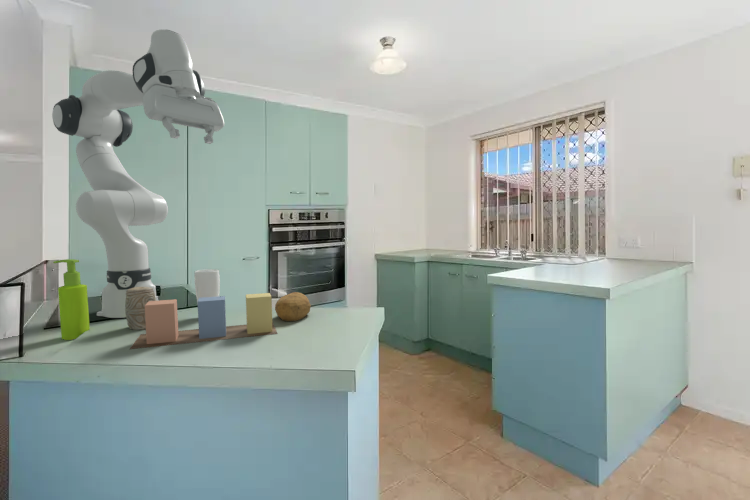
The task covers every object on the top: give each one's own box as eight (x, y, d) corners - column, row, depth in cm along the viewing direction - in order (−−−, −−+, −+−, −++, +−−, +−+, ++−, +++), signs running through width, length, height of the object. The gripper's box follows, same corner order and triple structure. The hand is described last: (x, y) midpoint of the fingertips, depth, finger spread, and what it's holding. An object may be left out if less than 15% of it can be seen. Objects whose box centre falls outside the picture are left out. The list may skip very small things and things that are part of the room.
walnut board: (141, 340, 99) (140, 334, 99) (273, 327, 110) (272, 322, 110) (129, 355, 88) (129, 349, 88) (277, 339, 99) (277, 333, 98)
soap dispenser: (70, 333, 106) (64, 258, 104) (95, 333, 105) (90, 258, 104) (51, 340, 100) (45, 260, 98) (78, 340, 100) (72, 260, 98)
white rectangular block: (212, 324, 113) (210, 272, 112) (191, 323, 115) (189, 271, 113) (225, 318, 120) (224, 269, 119) (205, 317, 121) (203, 268, 120)
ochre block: (246, 328, 103) (245, 294, 102) (270, 326, 105) (269, 292, 104) (247, 334, 98) (246, 298, 98) (272, 331, 100) (271, 296, 100)
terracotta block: (150, 338, 96) (148, 301, 95) (178, 335, 98) (176, 299, 97) (146, 344, 91) (144, 305, 90) (175, 341, 93) (174, 303, 92)
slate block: (200, 333, 99) (199, 297, 99) (226, 330, 101) (224, 296, 101) (199, 338, 95) (197, 301, 94) (226, 336, 97) (224, 299, 96)
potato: (267, 328, 109) (267, 299, 108) (284, 315, 123) (283, 290, 122) (302, 329, 108) (302, 299, 108) (315, 316, 122) (314, 290, 122)
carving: (127, 331, 107) (124, 287, 106) (158, 327, 111) (156, 284, 110) (125, 337, 102) (123, 291, 101) (159, 333, 105) (157, 288, 104)
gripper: (209, 105, 114) (221, 150, 113) (134, 86, 97) (147, 139, 96) (222, 94, 111) (234, 141, 110) (147, 73, 94) (160, 128, 93)
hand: (193, 140), depth 103 cm, fingers open, 8 cm apart
